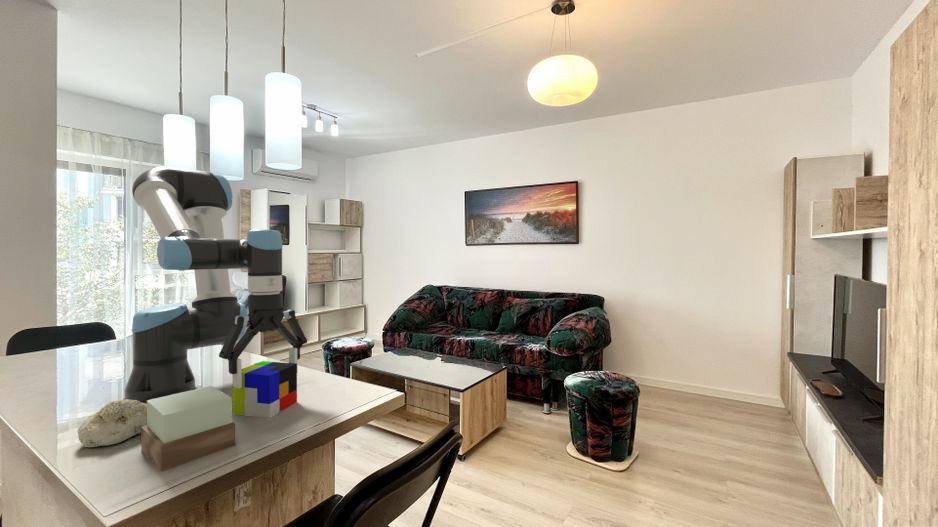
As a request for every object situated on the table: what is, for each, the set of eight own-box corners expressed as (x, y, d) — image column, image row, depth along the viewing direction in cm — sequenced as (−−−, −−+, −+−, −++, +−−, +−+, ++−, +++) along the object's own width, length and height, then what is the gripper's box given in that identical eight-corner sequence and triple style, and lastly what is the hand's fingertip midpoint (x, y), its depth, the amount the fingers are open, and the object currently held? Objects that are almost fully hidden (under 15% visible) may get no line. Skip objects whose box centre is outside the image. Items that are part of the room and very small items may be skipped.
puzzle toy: (269, 418, 92) (269, 375, 91) (232, 414, 94) (232, 372, 93) (296, 402, 101) (296, 363, 101) (262, 398, 104) (262, 361, 103)
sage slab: (147, 425, 77) (146, 400, 77) (211, 408, 85) (211, 385, 85) (163, 443, 70) (163, 415, 70) (232, 422, 79) (231, 397, 78)
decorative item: (128, 402, 90) (159, 388, 87) (135, 441, 88) (166, 428, 85) (60, 416, 78) (92, 400, 76) (66, 461, 77) (99, 447, 74)
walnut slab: (141, 452, 76) (141, 427, 76) (211, 430, 86) (210, 407, 86) (161, 474, 69) (161, 446, 69) (235, 447, 79) (235, 422, 79)
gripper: (215, 298, 85) (217, 397, 85) (320, 290, 105) (321, 370, 105) (201, 296, 89) (203, 390, 89) (304, 288, 109) (305, 365, 109)
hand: (266, 379), depth 97 cm, fingers open, 13 cm apart
